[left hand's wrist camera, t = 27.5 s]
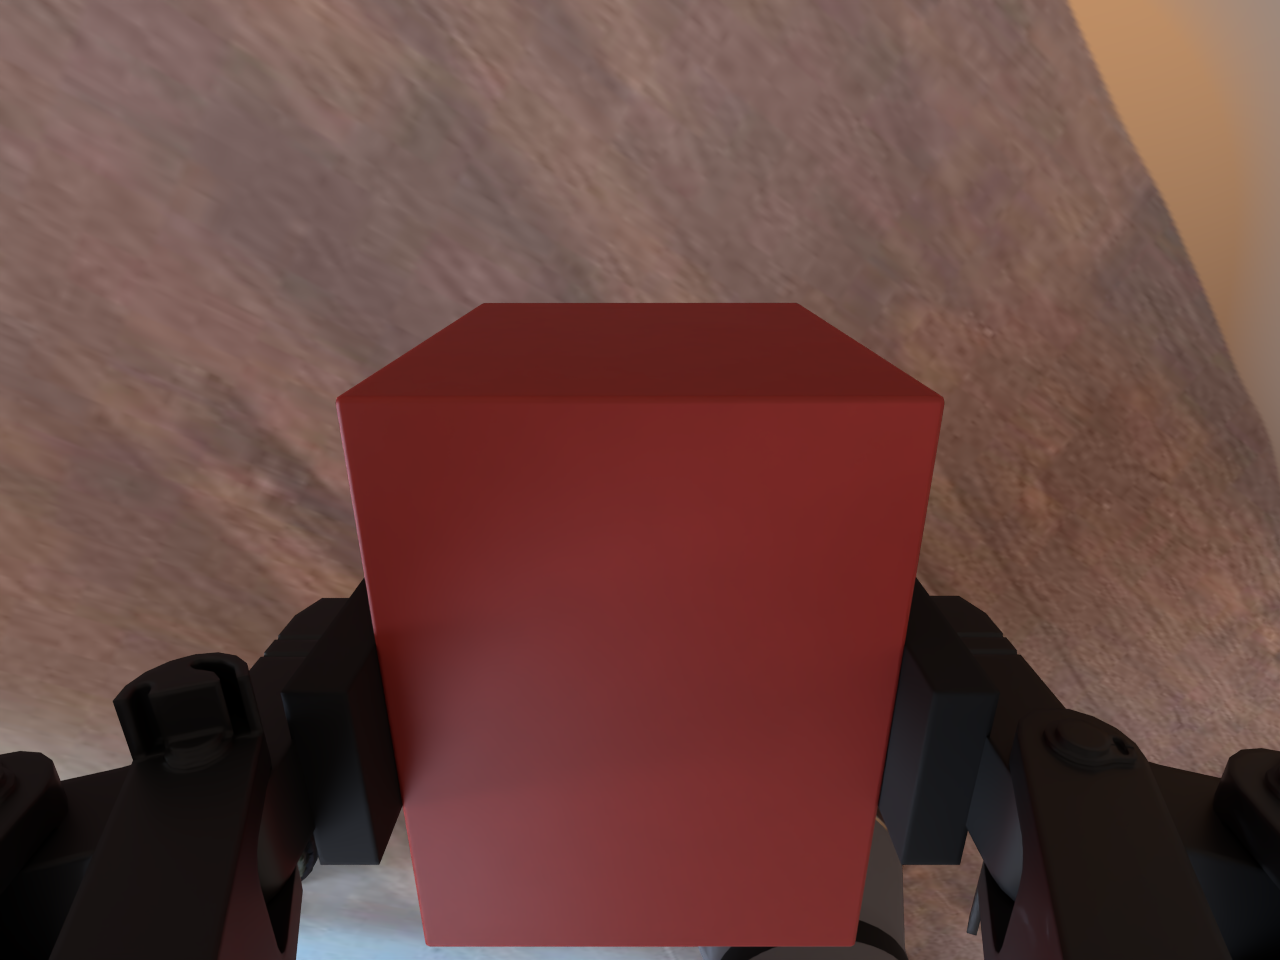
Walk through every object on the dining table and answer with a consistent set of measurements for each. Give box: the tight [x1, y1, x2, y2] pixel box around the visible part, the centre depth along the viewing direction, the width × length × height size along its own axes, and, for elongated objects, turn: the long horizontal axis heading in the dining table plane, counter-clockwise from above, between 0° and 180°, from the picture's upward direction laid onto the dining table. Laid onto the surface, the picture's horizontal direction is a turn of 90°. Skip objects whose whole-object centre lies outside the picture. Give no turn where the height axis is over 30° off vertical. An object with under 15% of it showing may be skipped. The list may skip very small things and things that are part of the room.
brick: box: [336, 303, 944, 946], centre depth 13 cm, size 9×7×8 cm
